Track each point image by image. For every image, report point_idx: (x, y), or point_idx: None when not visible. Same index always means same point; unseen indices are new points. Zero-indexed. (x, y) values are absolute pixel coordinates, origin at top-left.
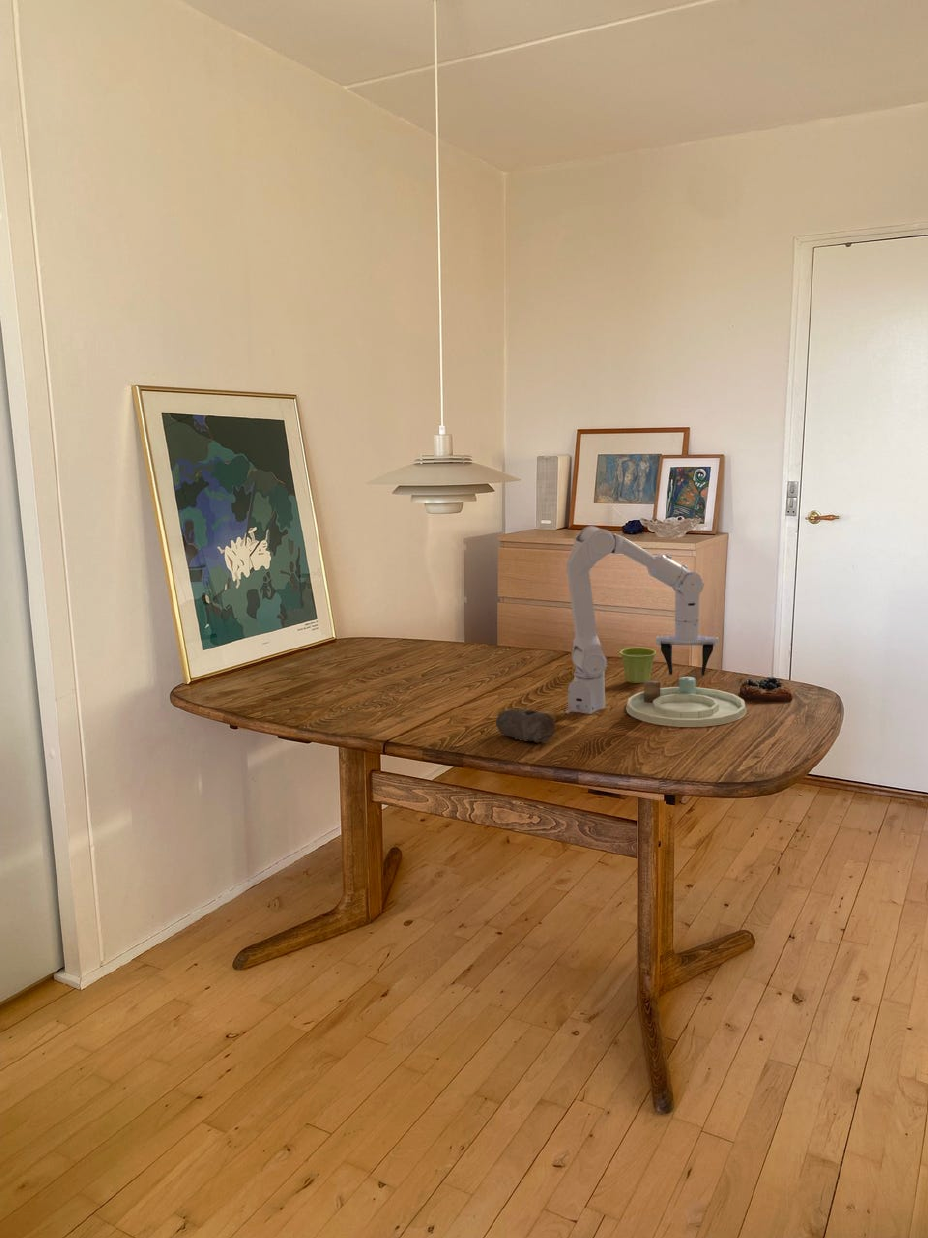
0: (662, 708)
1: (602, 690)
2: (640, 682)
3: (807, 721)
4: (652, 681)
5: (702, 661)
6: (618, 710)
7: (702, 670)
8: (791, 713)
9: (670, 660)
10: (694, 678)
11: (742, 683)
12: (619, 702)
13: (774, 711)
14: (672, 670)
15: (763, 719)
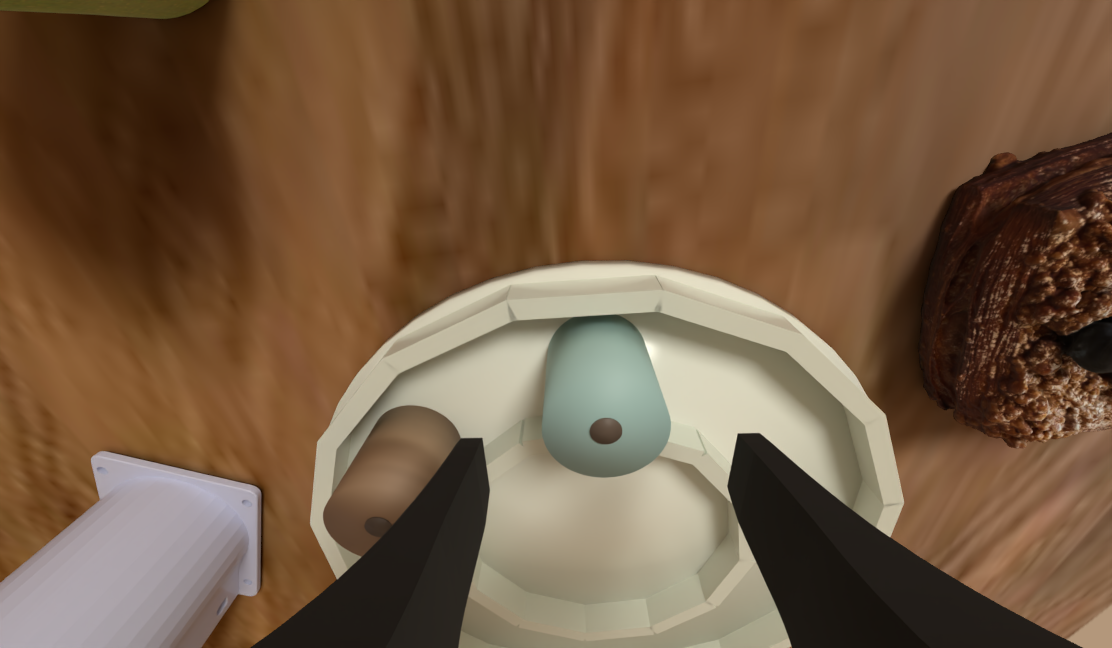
0: (505, 618)
1: (177, 640)
2: (172, 10)
3: (1083, 551)
4: (372, 503)
5: (790, 639)
6: (305, 507)
7: (751, 534)
8: (1079, 474)
9: (452, 644)
10: (664, 415)
11: (1051, 234)
12: (253, 408)
13: (1012, 457)
14: (478, 447)
15: (909, 546)
